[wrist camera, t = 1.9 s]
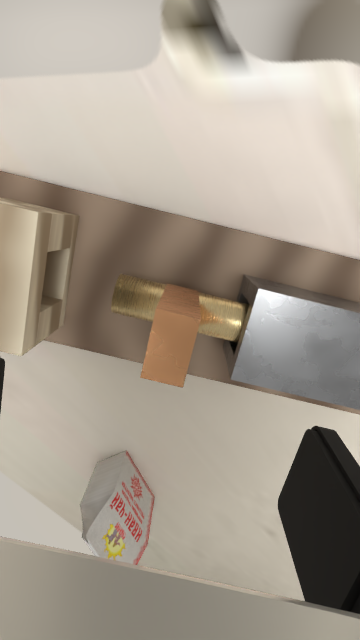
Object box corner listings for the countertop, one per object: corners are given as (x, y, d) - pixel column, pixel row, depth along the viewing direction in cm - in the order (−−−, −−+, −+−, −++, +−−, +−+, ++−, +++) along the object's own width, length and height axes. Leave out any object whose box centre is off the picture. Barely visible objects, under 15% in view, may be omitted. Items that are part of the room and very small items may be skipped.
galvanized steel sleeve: (395, 311, 30) (454, 336, 23) (365, 380, 32) (411, 422, 25) (243, 274, 30) (258, 288, 23) (222, 346, 32) (230, 379, 25)
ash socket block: (79, 215, 29) (38, 212, 21) (63, 324, 32) (21, 356, 24) (10, 198, 29) (-57, 189, 21) (0, 309, 31) (-63, 336, 24)
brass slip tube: (378, 328, 29) (489, 389, 18) (361, 370, 30) (455, 451, 19) (125, 266, 28) (83, 291, 17) (116, 311, 29) (72, 361, 18)
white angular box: (126, 507, 39) (103, 599, 29) (97, 462, 37) (63, 543, 28) (154, 496, 38) (141, 587, 29) (126, 450, 37) (102, 529, 27)
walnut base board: (412, 273, 31) (423, 276, 29) (354, 407, 34) (362, 415, 33) (-1, 171, 30) (-11, 168, 28) (-14, 320, 33) (-23, 324, 32)
